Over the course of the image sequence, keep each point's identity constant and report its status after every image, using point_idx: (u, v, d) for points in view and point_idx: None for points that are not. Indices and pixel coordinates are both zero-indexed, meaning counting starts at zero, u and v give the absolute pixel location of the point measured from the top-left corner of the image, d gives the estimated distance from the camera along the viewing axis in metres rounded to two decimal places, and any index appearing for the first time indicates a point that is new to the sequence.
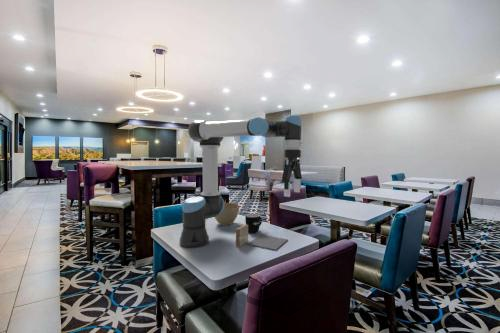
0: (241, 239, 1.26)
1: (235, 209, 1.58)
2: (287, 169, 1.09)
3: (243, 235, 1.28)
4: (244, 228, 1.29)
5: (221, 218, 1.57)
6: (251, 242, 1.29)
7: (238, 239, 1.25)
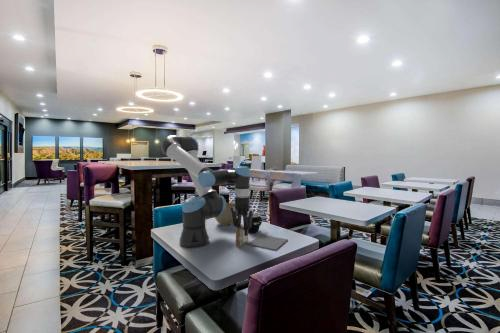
0: (241, 239, 1.26)
1: None
2: None
3: None
4: None
5: (221, 218, 1.57)
6: (251, 242, 1.29)
7: (238, 239, 1.25)
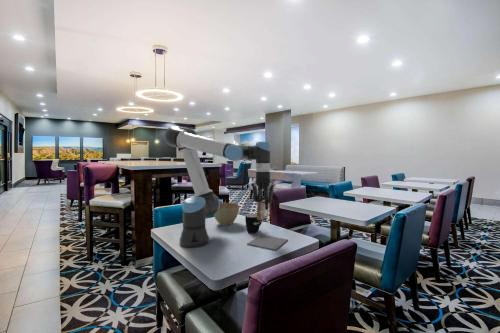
0: (262, 213, 1.28)
1: (235, 209, 1.58)
2: None
3: None
4: None
5: (221, 218, 1.57)
6: (251, 242, 1.29)
7: (259, 212, 1.27)
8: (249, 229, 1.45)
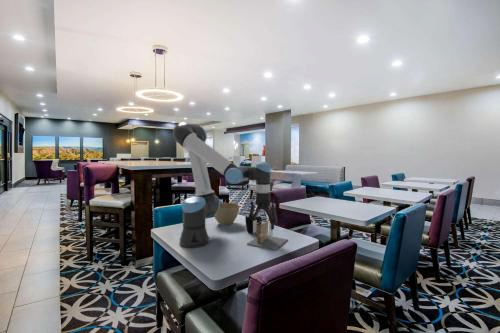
0: (262, 236, 1.29)
1: (235, 209, 1.58)
2: None
3: (264, 232, 1.31)
4: (264, 225, 1.31)
5: (221, 218, 1.57)
6: (251, 242, 1.29)
7: (259, 236, 1.28)
8: (249, 229, 1.45)
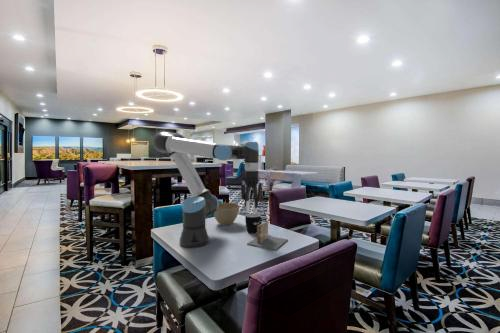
0: (262, 236, 1.29)
1: (235, 209, 1.58)
2: None
3: (264, 232, 1.31)
4: (264, 225, 1.31)
5: (221, 218, 1.57)
6: (251, 242, 1.29)
7: (259, 236, 1.28)
8: (249, 229, 1.45)
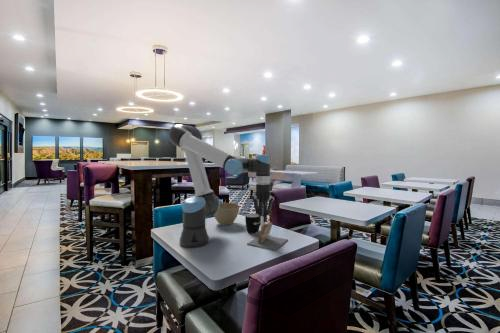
0: (264, 236, 1.29)
1: (235, 209, 1.58)
2: None
3: (266, 233, 1.30)
4: (269, 226, 1.30)
5: (221, 218, 1.57)
6: (251, 242, 1.29)
7: (261, 236, 1.27)
8: (249, 229, 1.45)
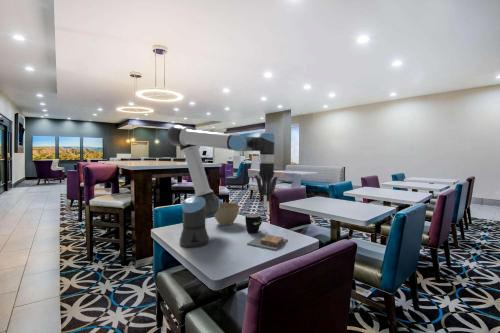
0: None
1: (235, 209, 1.58)
2: None
3: None
4: None
5: (221, 218, 1.57)
6: (251, 242, 1.29)
7: (267, 243, 1.26)
8: (249, 229, 1.45)
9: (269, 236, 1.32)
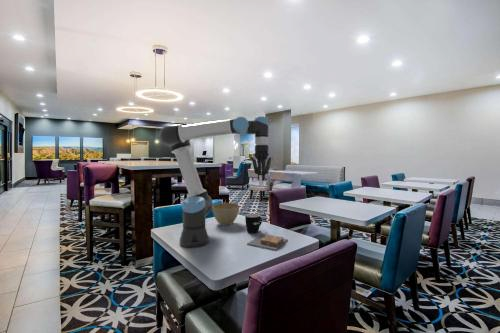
0: None
1: (235, 209, 1.58)
2: None
3: None
4: None
5: (221, 218, 1.57)
6: (251, 242, 1.29)
7: (267, 243, 1.26)
8: (249, 229, 1.45)
9: (269, 236, 1.32)
